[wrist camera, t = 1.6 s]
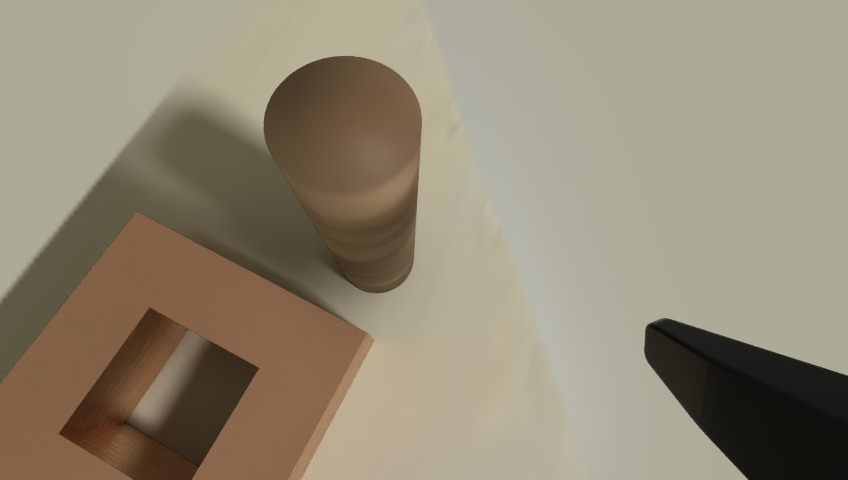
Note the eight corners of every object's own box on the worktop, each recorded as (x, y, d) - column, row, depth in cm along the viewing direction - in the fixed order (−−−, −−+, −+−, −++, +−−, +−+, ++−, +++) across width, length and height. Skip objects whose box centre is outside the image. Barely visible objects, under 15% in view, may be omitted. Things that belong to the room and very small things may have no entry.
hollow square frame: (239, 593, 18) (195, 651, 14) (21, 456, 19) (-74, 476, 16) (373, 340, 22) (367, 332, 18) (181, 238, 23) (136, 211, 19)
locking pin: (392, 306, 22) (374, 218, 10) (327, 272, 23) (231, 148, 10) (425, 242, 23) (447, 93, 11) (363, 211, 24) (316, 34, 11)
